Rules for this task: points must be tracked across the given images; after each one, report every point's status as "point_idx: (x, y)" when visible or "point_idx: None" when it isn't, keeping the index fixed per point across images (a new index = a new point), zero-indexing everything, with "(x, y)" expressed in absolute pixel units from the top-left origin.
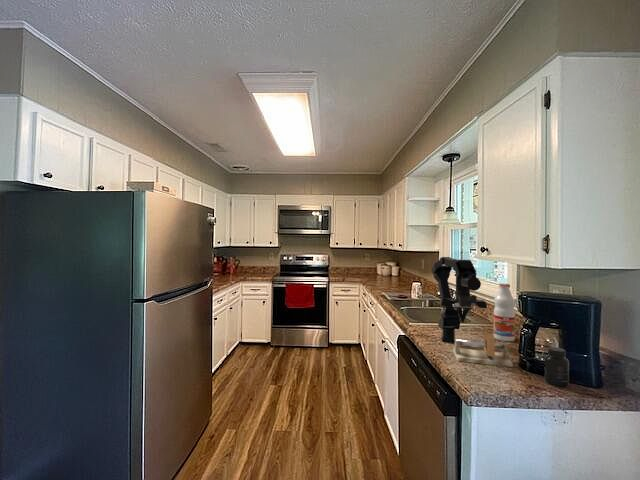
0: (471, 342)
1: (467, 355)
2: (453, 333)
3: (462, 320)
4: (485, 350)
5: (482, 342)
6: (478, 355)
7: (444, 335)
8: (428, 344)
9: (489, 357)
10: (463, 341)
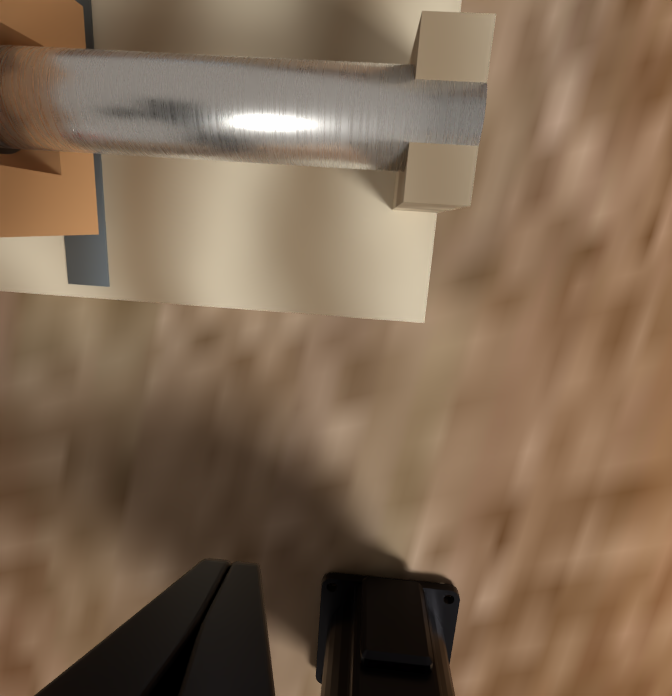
0: (223, 58)
1: None
2: (342, 674)
3: (224, 586)
4: (79, 154)
5: (41, 62)
6: None
7: (440, 655)
8: (632, 484)
9: None
10: (354, 67)
